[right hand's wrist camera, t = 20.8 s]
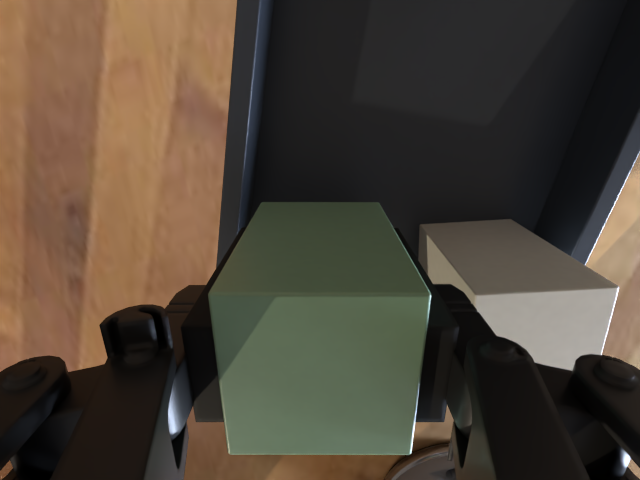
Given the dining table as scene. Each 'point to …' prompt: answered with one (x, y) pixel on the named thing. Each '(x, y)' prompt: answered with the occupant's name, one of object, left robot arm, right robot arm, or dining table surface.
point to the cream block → (522, 287)
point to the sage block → (319, 333)
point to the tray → (436, 112)
